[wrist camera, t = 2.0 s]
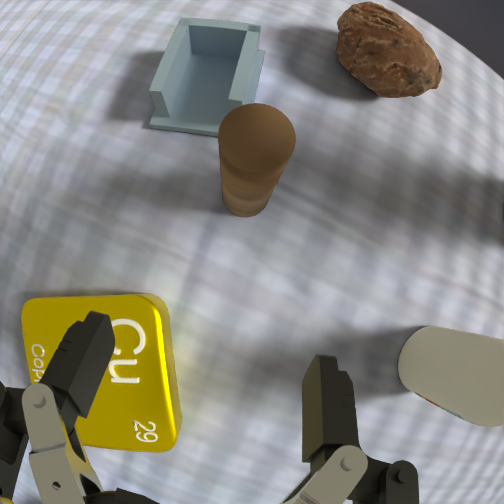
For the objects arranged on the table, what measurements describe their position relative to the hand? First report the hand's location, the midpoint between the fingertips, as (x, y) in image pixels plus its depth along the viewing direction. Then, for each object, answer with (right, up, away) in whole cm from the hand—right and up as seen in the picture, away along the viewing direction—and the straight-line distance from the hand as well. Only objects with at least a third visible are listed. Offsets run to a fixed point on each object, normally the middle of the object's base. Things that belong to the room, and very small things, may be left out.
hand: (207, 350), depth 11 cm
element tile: (-13, -8, +17) cm, 23 cm away
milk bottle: (+21, -8, +19) cm, 29 cm away
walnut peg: (+1, +9, +18) cm, 21 cm away
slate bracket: (-3, +22, +19) cm, 29 cm away
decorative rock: (+17, +26, +21) cm, 38 cm away
